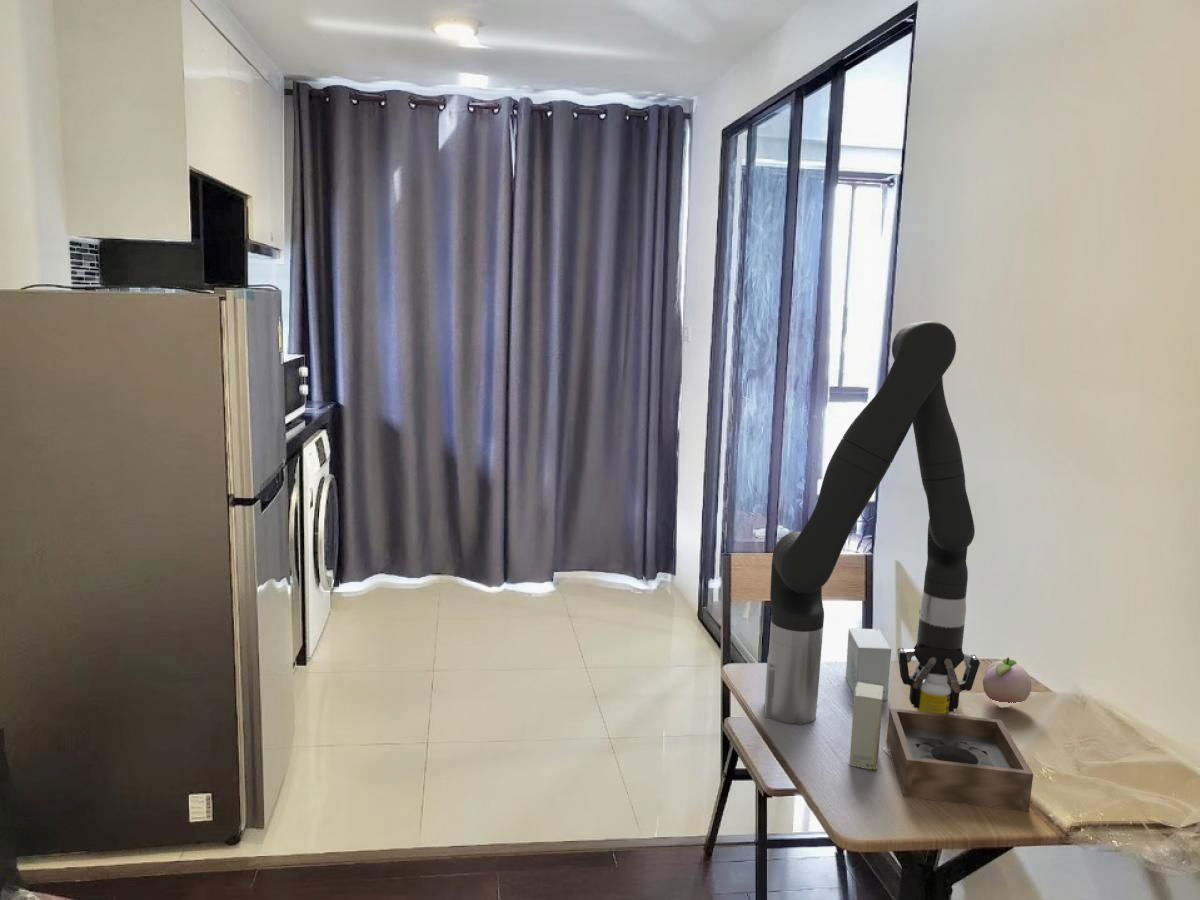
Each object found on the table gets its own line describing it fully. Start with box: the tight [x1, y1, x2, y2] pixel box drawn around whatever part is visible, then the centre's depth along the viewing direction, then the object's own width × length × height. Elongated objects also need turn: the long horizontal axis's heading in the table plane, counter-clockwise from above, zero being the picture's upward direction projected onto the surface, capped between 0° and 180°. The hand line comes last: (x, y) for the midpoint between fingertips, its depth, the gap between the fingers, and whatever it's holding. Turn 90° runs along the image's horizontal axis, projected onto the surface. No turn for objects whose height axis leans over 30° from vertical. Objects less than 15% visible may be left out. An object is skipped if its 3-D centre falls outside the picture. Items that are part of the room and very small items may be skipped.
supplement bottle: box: [915, 673, 951, 714], centre depth 161 cm, size 5×5×10 cm
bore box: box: [886, 708, 1034, 812], centre depth 143 cm, size 18×18×6 cm
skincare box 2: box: [849, 682, 884, 771], centre depth 146 cm, size 6×4×12 cm
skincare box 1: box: [845, 627, 892, 701], centre depth 175 cm, size 10×6×10 cm, turn 175°
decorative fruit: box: [982, 657, 1032, 703], centre depth 168 cm, size 9×8×10 cm
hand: (933, 707), depth 161 cm, fingers closed on supplement bottle, 5 cm apart
